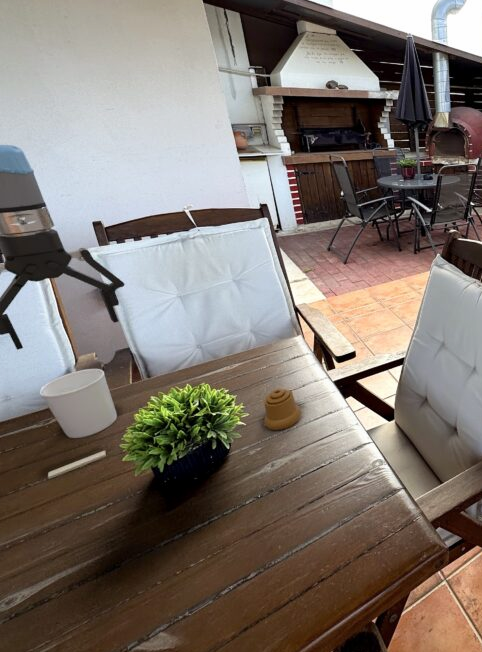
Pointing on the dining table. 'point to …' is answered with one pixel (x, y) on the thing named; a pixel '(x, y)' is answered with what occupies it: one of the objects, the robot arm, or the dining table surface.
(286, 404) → the ornamental finial
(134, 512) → the dining table surface
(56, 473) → the strip
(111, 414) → the white tapered cylinder
